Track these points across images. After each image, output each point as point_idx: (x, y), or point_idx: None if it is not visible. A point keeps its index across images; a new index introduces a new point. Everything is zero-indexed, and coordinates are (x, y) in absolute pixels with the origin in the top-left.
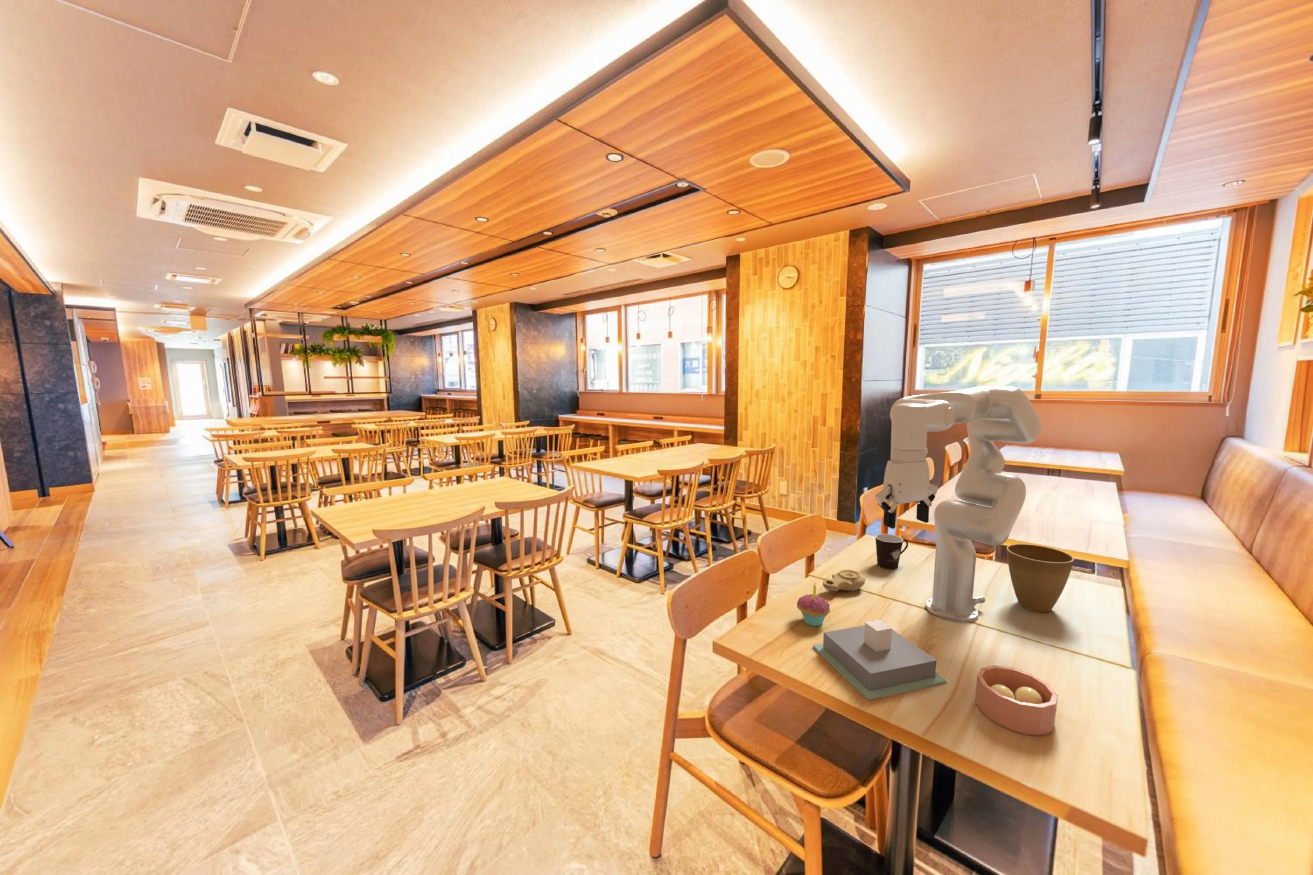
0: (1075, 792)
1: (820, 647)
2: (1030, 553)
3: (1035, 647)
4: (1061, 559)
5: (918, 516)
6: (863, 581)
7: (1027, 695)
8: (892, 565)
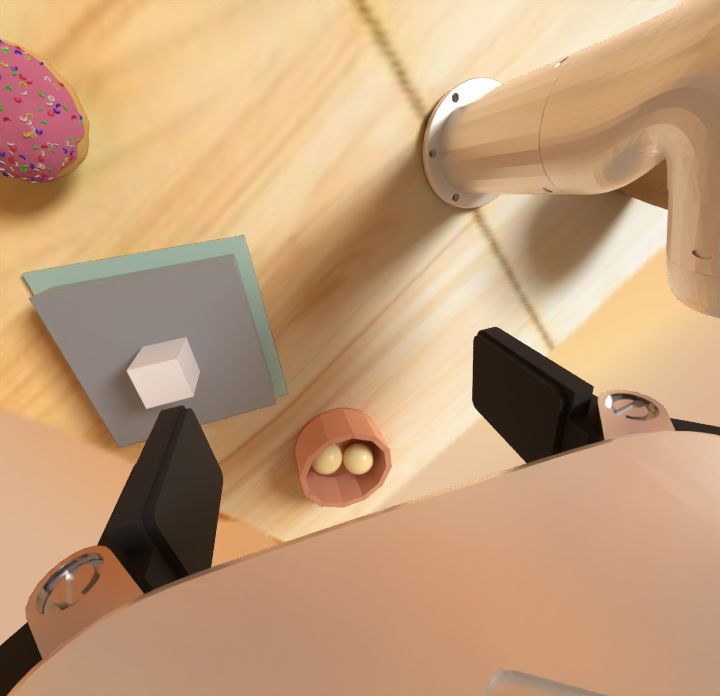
0: (307, 533)
1: (44, 285)
2: None
3: (497, 303)
4: None
5: (488, 360)
6: None
7: (352, 472)
8: None
